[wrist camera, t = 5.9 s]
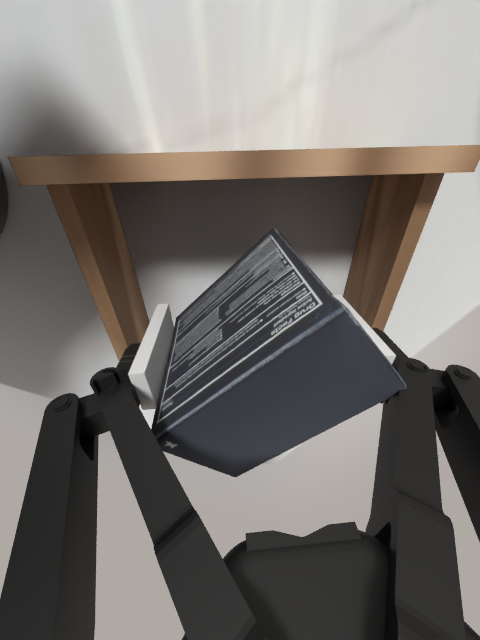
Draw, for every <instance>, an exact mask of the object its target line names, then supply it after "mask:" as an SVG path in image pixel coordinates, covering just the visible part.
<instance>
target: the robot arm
mask: <svg viewBox="0 0 480 640" xmlns="http://www.w3.org/2000/svg"><path fill="white" fill-rule="evenodd" d="M6 214H7V193H6V187H5V182H4V179H3V175H2V172H1V169H0V232H1V230H2V228H3V226H4V223H5V220H6ZM333 296H334V297H336V298H337V299H338V300H339V301H340V302H341V303H343V304H344V305H345V306H346V307H347V308H348V309H349V310H350V312H351V313H352V314H353V316H354V317H355V319H356V320H357V321H358V322H359V323H360V325H361V326H362V327H363V328H364V330H365V331H366V332H367V334H368V335H369V336H370V337H371V339H372V340H373V341H374V343H375V344H376V345H377V346H378V348H379V349H380V350H381V352H382V353H383V354H384V355H385V356H386V358H387V359H388V360H389V362H390V363H391V365H392V366H393V367H394V368H395V370H396V371H397V372H398V374H399V375H400V377H401V378H402V380H403V381H404V383H405V384H406V389H403V390H399V391H398V393H397V394H396V395H394V396H392V397H390V398H388V399H386V400H384V401H382V402H380V403H383V402H384V403H383V412H382V421H381V429H380V438H379V447H378V455H377V464H376V473H375V481H374V491H373V498H372V508H371V515H370V519H369V522H368V525H367V528H366V532H363V531H360V530H358V529H357V526H356V524H355V522H349V523H340V524H330V525H327V526H325V527H323V528H321V529H319V530H317V531H315V532H313V533H311V534H309V535H307V536H305V537H299V536H294V535H290V534H286V533H282V532H277V531H263V532H254V533H246V540H245V541H243V542H241V543H239V544H238V545H237V546H235V547H234V548H233V549H231V550H230V552H228V554H227V555H226V556H225V557H224V558H223V559H222V557H221V555H220V553H219V552H218V550H217V548H216V546H215V544H214V542H213V541H212V539H211V537H210V535H209V533H208V531H207V530H206V528H205V526H204V524H203V522H202V521H201V519H200V517H199V515H198V514H197V512H196V511H195V509H194V508H193V506H192V505H191V503H190V501H189V499H188V497H187V496H186V493H185V492H184V490H183V488H182V486H181V484H180V482H179V481H178V479H177V477H176V475H175V473H174V471H173V470H172V468H171V466H170V464H169V462H168V460H167V459H166V457H165V455H164V453H163V451H162V449H161V447H160V446H159V444H158V442H157V440H156V438H155V436H154V435H153V433H152V431H151V429H150V427H149V425H148V423H147V422H146V420H145V418H144V416H143V414H142V412H141V411H140V409H139V405H141V407H142V409H143V410H146V409H156V407H157V402H158V398H159V393H160V390H161V385H162V381H163V376H164V372H165V367H166V365H167V360H168V356H169V351H170V347H171V343H172V338H173V333H174V326H173V321H172V317H171V312H170V308H169V304H158V305H157V307H156V309H155V312H154V314H153V316H152V319H151V321H150V323H149V326H148V328H147V330H146V333H145V335H144V338H143V340H142V342H141V343H134V344H131V345H130V346H128V347H127V348H126V349H125V351H124V353H123V355H122V357H121V359H120V362H119V363H118V365H117V367H116V368H114V367H111V368H105V369H102V370H100V371H99V372H97V373H96V374H95V375H94V376H93V377H92V378H91V380H90V385H91V387H92V389H93V391H94V394H91V395H88V396H85V397H82V398H78V396H77V395H75V394H72V393H68V394H64V395H61V396H59V397H57V398H55V399H54V400H53V401H51V402H50V404H49V405H48V406H47V407H46V409H45V412H44V416H43V420H42V425H41V429H40V434H39V438H38V442H37V446H36V450H35V454H34V458H33V463H32V467H31V471H30V475H29V480H28V484H27V488H26V492H25V496H24V501H23V505H22V509H21V514H20V518H19V522H18V526H17V530H16V534H15V539H14V543H13V547H12V551H11V556H10V560H9V564H8V568H7V573H6V577H5V581H4V585H3V589H2V593H1V598H0V640H94V630H95V588H96V536H97V535H96V534H97V480H98V478H97V477H98V435H99V434H102V433H105V432H107V431H110V432H111V434H112V437H113V440H114V442H115V445H116V447H117V450H118V453H119V455H120V458H121V460H122V463H123V466H124V468H125V471H126V474H127V476H128V479H129V481H130V484H131V487H132V489H133V492H134V494H135V497H136V499H137V502H138V505H139V507H140V510H141V512H142V515H143V517H144V520H145V522H146V525H147V528H148V531H149V533H150V536H151V538H152V541H153V544H154V551H155V554H156V557H157V560H158V563H159V566H160V568H161V571H162V573H163V576H164V579H165V581H166V584H167V586H168V589H169V592H170V594H171V597H172V600H173V602H174V605H175V608H176V610H177V613H178V616H179V618H180V621H181V623H182V626H183V629H184V631H185V635H184V637H183V639H182V640H480V636H479V635H478V634H477V633H476V632H475V631H474V630H472V628H470V626H469V625H468V624H467V623H466V622H464V618H463V609H462V600H461V591H460V583H459V573H458V564H457V556H456V547H455V537H454V529H453V525H452V522H451V520H450V518H449V517H448V516H446V515H445V514H444V513H443V510H442V503H441V490H440V479H439V466H438V455H437V443H436V432H437V434H438V437H439V440H440V442H441V445H442V447H443V449H444V452H445V455H446V457H447V460H448V462H449V465H450V468H451V470H452V473H453V475H454V478H455V480H456V483H457V485H458V487H459V490H460V493H461V495H462V498H463V500H464V503H465V506H466V508H467V511H468V513H469V516H470V518H471V521H472V523H473V526H474V529H475V531H476V534H477V536H478V539H479V541H480V378H479V376H478V375H477V374H476V373H474V372H473V371H471V370H470V369H468V368H466V367H463V366H459V365H449V366H448V367H447V368H446V370H445V371H440V370H434V369H429V367H428V366H427V365H425V364H424V363H423V362H421V361H419V360H416V359H412V358H408V357H407V356H406V355H405V354H404V353H403V352H402V351H401V349H400V348H399V347H398V346H397V345H396V344H395V343H393V341H392V340H391V339H389V337H388V336H387V335H386V334H385V333H384V332H383V331H381V330H379V329H378V328H371V327H370V326H369V325H368V324H367V323H366V322H365V321H364V320H363V319H362V317H361V316H360V315H359V314H358V313H357V312H356V311H355V310H354V309H353V308H352V306H351V305H350V304H349V303H348V302H347V301H346V300H345V299H344V298H343V297H342V295H341V294H333ZM435 429H436V431H435Z"/></svg>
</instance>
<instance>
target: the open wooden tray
mask: <svg viewBox="0 0 480 640" xmlns="http://www.w3.org/2000/svg"><path fill="white" fill-rule="evenodd" d="M479 159H480V145H459V146H419V147H379V148H339V149H299V150H259V151H218V152H178V153H138V154H98V155H58V156H17V157H8V160H9V162H10V164H11V166H12V168H13V170H14V172H15V175H16V177H17V179H18V181H19V183H20V185H46V186H47V189H48V191H49V193H50V196H51V198H52V201H53V203H54V205H55V208H56V210H57V213H58V215H59V217H60V220H61V222H62V225H63V227H64V229H65V232H66V234H67V237H68V239H69V242H70V244H71V246H72V249H73V251H74V254H75V256H76V258H77V261H78V263H79V266H80V268H81V270H82V273H83V275H84V278H85V280H86V282H87V285H88V287H89V290H90V292H91V294H92V297H93V299H94V302H95V304H96V306H97V309H98V311H99V314H100V316H101V319H102V321H103V323H104V326H105V328H106V331H107V333H108V335H109V338H110V340H111V343H112V345H113V347H114V350H115V352H116V355H117V357H118V359H119V362H120V359H121V357H122V355H123V353H124V351H125V349H126V348H127V347H128V346H130V345H131V344H134V343H141V342H142V340H143V338H144V335H145V333H146V330H147V328H148V326H149V320H148V316H147V313H146V309H145V306H144V302H143V299H142V295H141V292H140V288H139V285H138V281H137V278H136V274H135V271H134V267H133V264H132V260H131V257H130V253H129V250H128V246H127V243H126V239H125V236H124V232H123V229H122V225H121V222H120V218H119V215H118V211H117V208H116V204H115V201H114V197H113V194H112V190H111V187H110V183H116V182H150V181H184V180H217V179H251V178H285V177H318V176H352V175H373V178H372V182H371V186H370V190H369V194H368V198H367V202H366V206H365V211H364V215H363V219H362V223H361V227H360V231H359V235H358V239H357V243H356V247H355V251H354V255H353V259H352V263H351V267H350V271H349V275H348V279H347V283H346V287H345V291H344V296H343V298H344V299H345V300H346V301H347V302H348V303H349V304H350V305H351V306H352V308H353V309H354V310H355V311H356V312H357V313H358V314H359V315H360V316H361V317H362V319H363V320H364V321H365V322H366V323H367V324H368V325H369V326H370V327H371V328H378V329H379V330H381V331H383V330H384V328H385V325H386V323H387V320H388V317H389V315H390V312H391V310H392V307H393V305H394V302H395V299H396V297H397V294H398V292H399V289H400V287H401V284H402V281H403V279H404V276H405V274H406V271H407V269H408V266H409V263H410V261H411V258H412V256H413V253H414V250H415V248H416V245H417V243H418V240H419V238H420V235H421V232H422V230H423V227H424V225H425V222H426V220H427V217H428V214H429V212H430V209H431V207H432V204H433V202H434V199H435V196H436V194H437V191H438V189H439V186H440V183H441V181H442V178H443V176H444V173H453V172H474V171H475V168H476V166H477V164H478V162H479Z"/></svg>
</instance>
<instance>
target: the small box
mask: <svg viewBox="0 0 480 640" xmlns="http://www.w3.org/2000/svg"><path fill="white" fill-rule="evenodd" d="M403 389H406V384H405V383H404V381H403V380H402V378H401V377H400V375H399V374H398V372H397V371H396V370H395V368H394V367H393V366H392V365H391V363H390V362H389V360H388V359H387V358H386V356H385V355H384V354H383V353H382V352H381V350H380V349H379V348H378V346H377V345H376V344H375V343H374V341H373V340H372V339H371V337H370V336H369V335H368V334H367V332H366V331H365V330H364V328H363V327H362V326H361V325H360V323H359V322H358V321H357V320H356V319H355V317H354V316H353V314H352V313H351V312H350V310H349V309H348V308H347V307H346V306H345V305H344V304H343V303H341V302H340V301H339V300H338V299H337V298H336V297H334V296H333V294H332V293H331V292H330V291H329V290H328V289H327V287H326V286H325V285H324V284H323V283H322V282H321V280H320V279H319V278H318V277H317V276H316V275H315V273H314V272H313V271H312V270H311V269H310V268H309V267H308V265H307V264H306V263H305V262H304V261H303V260H302V259H301V258H300V256H299V255H298V254H297V253H296V252H295V250H294V249H293V248H292V247H291V245H290V244H289V243H288V241H287V240H286V239H285V238H284V236H283V235H282V234H281V232H280V231H279V230H278V229H276V228H274V229H272V230H271V231H270V232H269V233H268V234H267V235H266V236H265V237H263V238H262V239H261V240H260V241H259V242H258V243H257V244H256V245H255V246H254V247H252V248H251V249H250V250H249V251H248V252H247V253H246V254H245V255H244V256H243V257H241V258H240V259H239V260H238V261H237V262H236V263H235V264H234V265H233V266H232V267H231V268H230V269H228V270H227V271H226V272H225V273H224V274H223V275H222V276H221V277H220V278H219V279H217V280H216V281H215V282H214V283H213V284H212V285H211V286H210V287H209V288H208V289H207V290H206V291H205V292H203V293H202V294H201V295H200V296H199V297H198V298H197V299H196V300H195V301H194V302H193V303H191V304H190V305H189V306H188V307H187V308H186V309H185V310H184V311H183V312H182V313H181V314H180V315H179V316H178V317H176V322H175V327H174V333H173V338H172V343H171V347H170V351H169V356H168V360H167V365H166V367H165V372H164V376H163V381H162V385H161V390H160V393H159V398H158V402H157V407H156V410H155V415H154V419H153V424H152V429H151V431H152V433H153V435H154V436H155V438H156V440H157V442H158V444H159V446H160V447H161V449H162V451H164V452H167V453H170V454H173V455H175V456H178V457H181V458H183V459H186V460H189V461H192V462H194V463H197V464H200V465H203V466H206V467H208V468H211V469H214V470H216V471H219V472H222V473H225V474H228V475H230V476H233V477H237V476H239V475H241V474H243V473H245V472H247V471H249V470H251V469H253V468H254V467H256V466H258V465H260V464H262V463H264V462H266V461H268V460H270V459H272V458H274V457H276V456H278V455H280V454H281V453H283V452H285V451H287V450H289V449H291V448H293V447H295V446H297V445H299V444H301V443H303V442H305V441H306V440H308V439H310V438H312V437H314V436H316V435H318V434H320V433H322V432H324V431H326V430H328V429H330V428H332V427H334V426H336V425H338V424H339V423H341V422H343V421H345V420H347V419H349V418H351V417H353V416H355V415H357V414H359V413H361V412H363V411H365V410H367V409H369V408H371V407H372V406H374V405H376V404H378V403H380V402H382V401H384V400H386V399H388V398H390V397H392V396H394V395H396V394H397V393H398V391H399V390H403Z"/></svg>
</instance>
